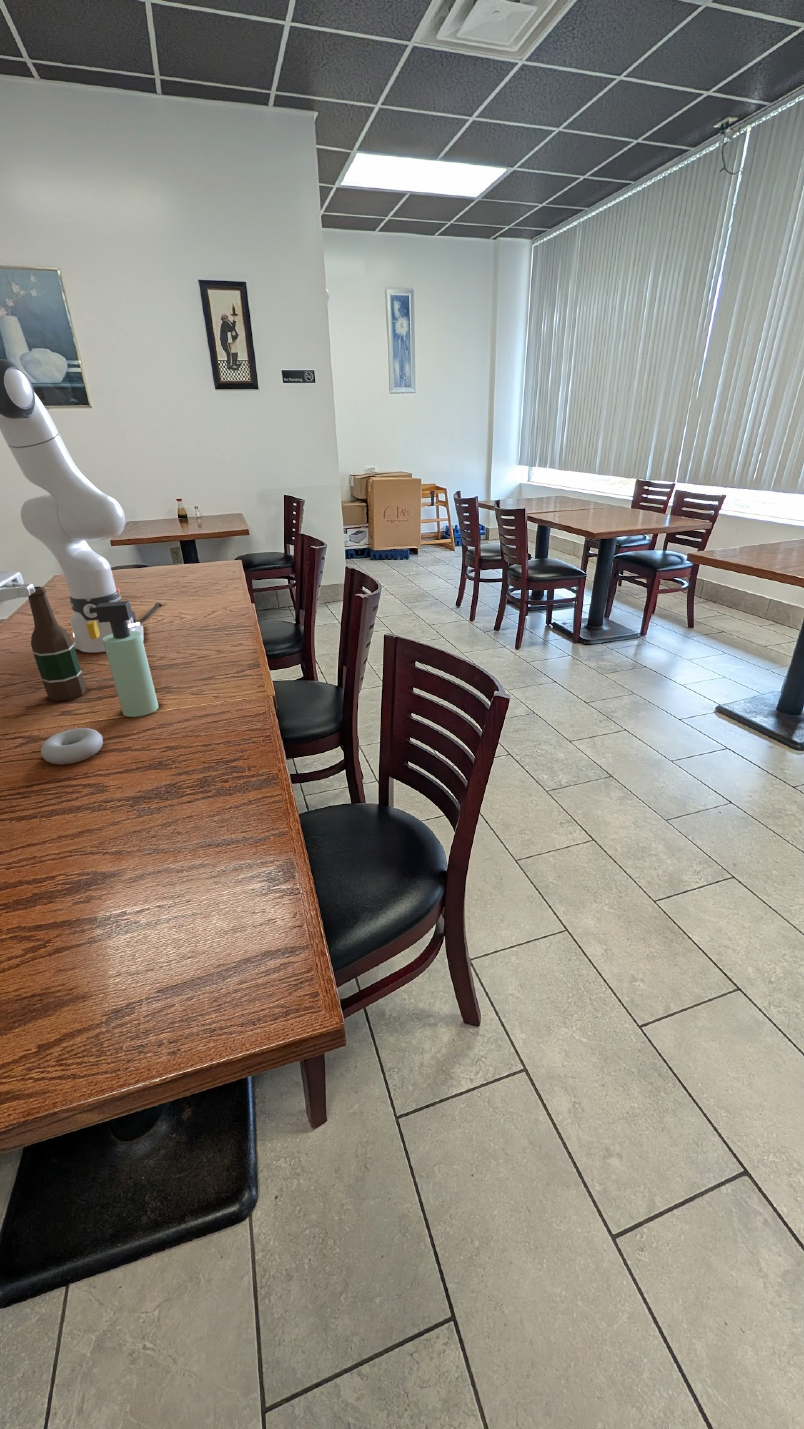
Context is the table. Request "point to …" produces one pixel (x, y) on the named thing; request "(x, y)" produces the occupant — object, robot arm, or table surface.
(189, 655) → the table surface
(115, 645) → the spray bottle
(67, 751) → the donut
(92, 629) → the block
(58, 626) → the beer bottle
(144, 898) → the table surface
